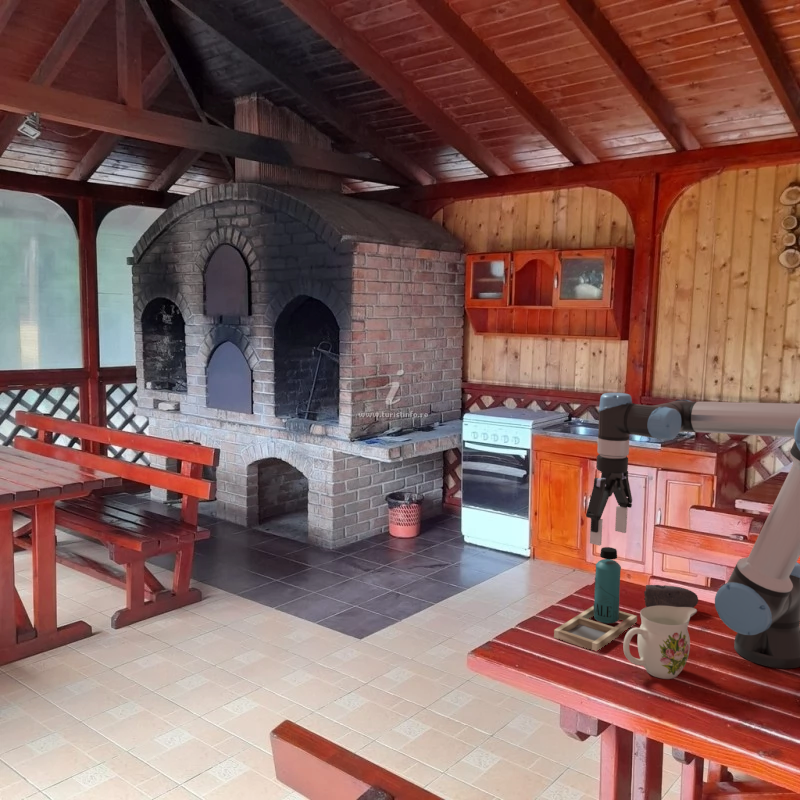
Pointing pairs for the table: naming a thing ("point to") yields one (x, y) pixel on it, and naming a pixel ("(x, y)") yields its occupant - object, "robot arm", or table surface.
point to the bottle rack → (592, 630)
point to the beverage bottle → (607, 587)
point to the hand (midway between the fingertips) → (608, 537)
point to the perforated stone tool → (669, 596)
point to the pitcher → (661, 640)
